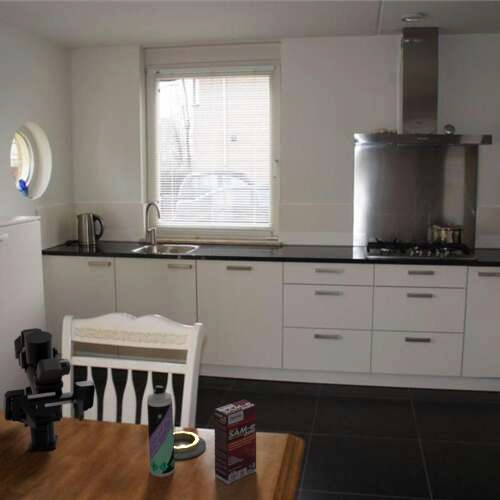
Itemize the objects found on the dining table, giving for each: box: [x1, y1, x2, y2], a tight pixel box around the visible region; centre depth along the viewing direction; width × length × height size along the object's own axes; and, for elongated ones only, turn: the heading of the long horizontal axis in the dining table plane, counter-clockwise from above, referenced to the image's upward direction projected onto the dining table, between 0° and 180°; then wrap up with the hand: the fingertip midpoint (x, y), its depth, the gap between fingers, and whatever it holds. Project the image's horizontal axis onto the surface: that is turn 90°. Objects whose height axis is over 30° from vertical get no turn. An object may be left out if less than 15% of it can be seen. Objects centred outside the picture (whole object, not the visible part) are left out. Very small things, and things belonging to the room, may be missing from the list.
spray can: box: [146, 384, 176, 478], centre depth 140 cm, size 6×6×20 cm
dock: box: [173, 430, 207, 461], centre depth 152 cm, size 12×12×2 cm
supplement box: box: [214, 399, 257, 485], centre depth 139 cm, size 9×5×16 cm, turn 131°
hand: (59, 422), depth 130 cm, fingers open, 9 cm apart
